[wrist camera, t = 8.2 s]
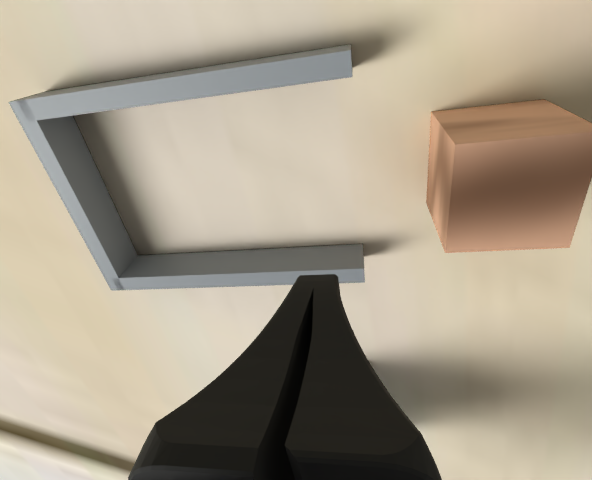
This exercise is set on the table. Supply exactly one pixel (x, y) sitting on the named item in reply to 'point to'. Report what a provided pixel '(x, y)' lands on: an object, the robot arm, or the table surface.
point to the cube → (508, 176)
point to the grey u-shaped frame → (101, 210)
